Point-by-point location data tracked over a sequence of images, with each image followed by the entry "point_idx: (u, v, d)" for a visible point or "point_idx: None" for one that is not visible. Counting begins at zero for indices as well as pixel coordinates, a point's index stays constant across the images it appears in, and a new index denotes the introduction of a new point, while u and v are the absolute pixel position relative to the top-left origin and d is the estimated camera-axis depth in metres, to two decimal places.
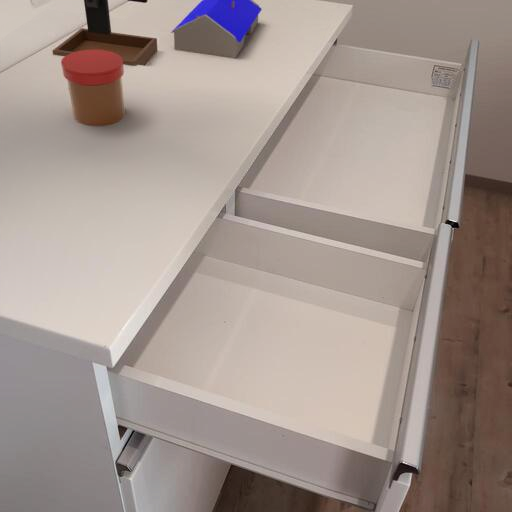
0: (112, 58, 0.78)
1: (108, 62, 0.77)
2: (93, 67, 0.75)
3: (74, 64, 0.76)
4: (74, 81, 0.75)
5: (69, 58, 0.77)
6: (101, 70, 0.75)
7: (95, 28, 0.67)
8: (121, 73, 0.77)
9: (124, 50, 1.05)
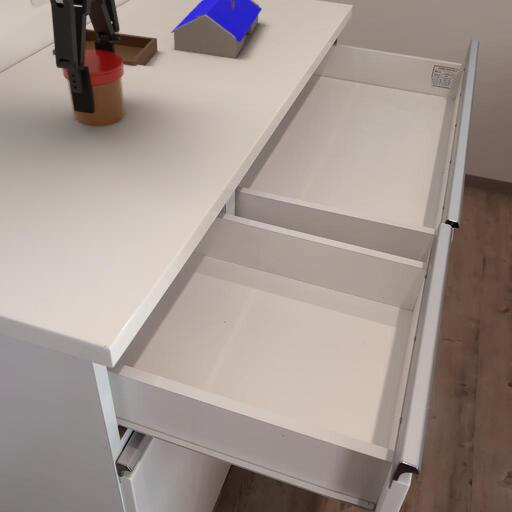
0: (112, 58, 0.78)
1: (108, 62, 0.77)
2: (93, 67, 0.75)
3: None
4: None
5: None
6: (101, 70, 0.75)
7: None
8: (121, 73, 0.77)
9: (124, 50, 1.05)
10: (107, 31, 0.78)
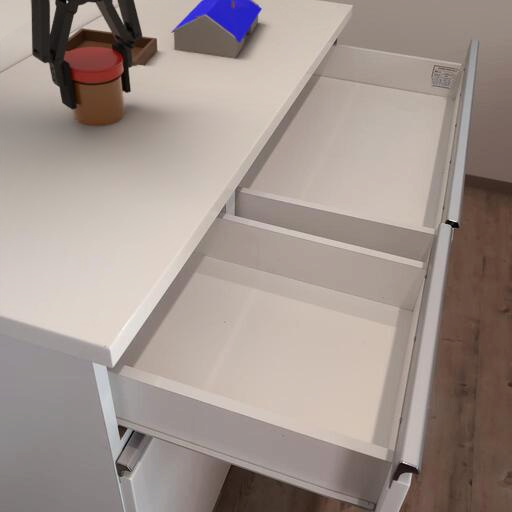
0: (72, 55, 0.77)
1: (82, 53, 0.78)
2: (101, 52, 0.78)
3: (111, 58, 0.77)
4: None
5: (106, 65, 0.75)
6: (99, 48, 0.80)
7: (65, 101, 0.78)
8: None
9: None
10: None
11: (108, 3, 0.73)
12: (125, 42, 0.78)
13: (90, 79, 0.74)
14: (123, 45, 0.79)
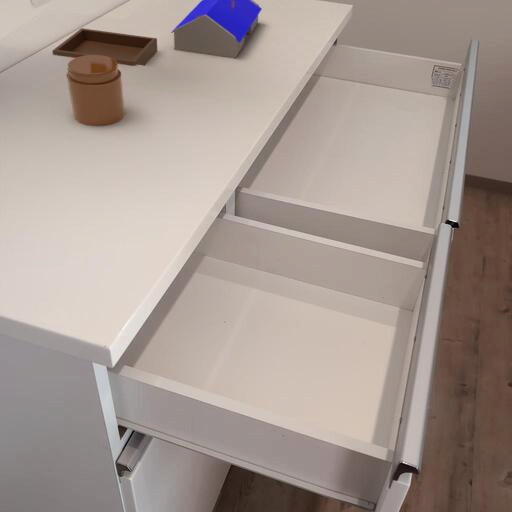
0: None
1: None
2: None
3: None
4: None
5: None
6: None
7: None
8: None
9: (124, 50, 1.05)
10: None
11: None
12: None
13: None
14: None
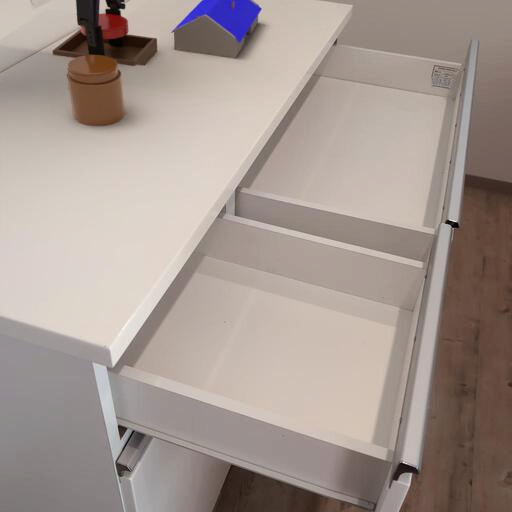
0: None
1: None
2: (103, 16, 1.00)
3: (117, 19, 1.00)
4: None
5: (121, 23, 0.99)
6: None
7: None
8: None
9: (124, 50, 1.05)
10: None
11: None
12: (119, 5, 1.01)
13: (117, 35, 0.97)
14: (116, 8, 1.02)
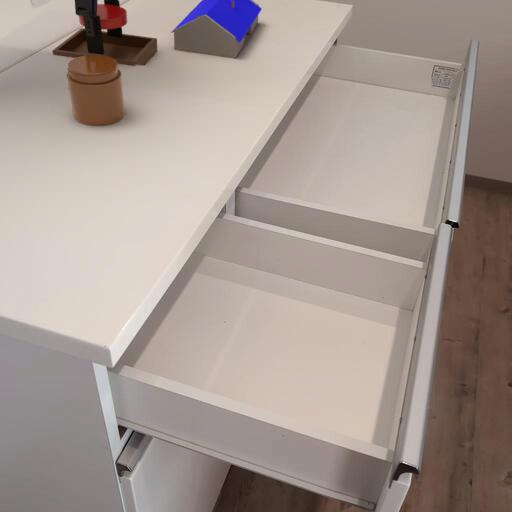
0: None
1: None
2: (101, 7, 0.99)
3: (116, 9, 0.99)
4: None
5: (120, 13, 0.98)
6: None
7: (93, 50, 0.97)
8: None
9: (124, 50, 1.05)
10: None
11: None
12: None
13: (115, 25, 0.96)
14: None
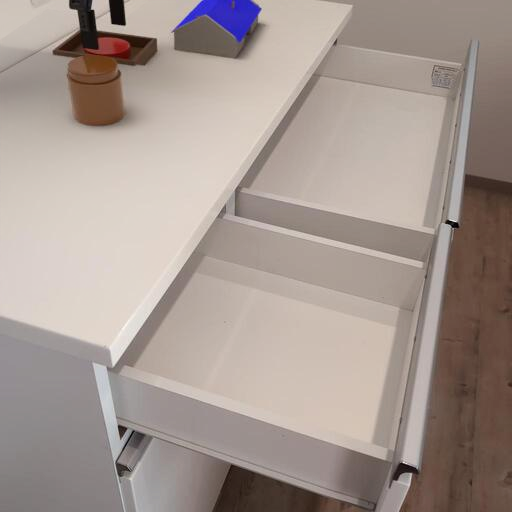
0: None
1: None
2: (105, 40, 1.03)
3: (119, 43, 1.03)
4: None
5: (124, 47, 1.02)
6: (100, 39, 1.04)
7: (87, 45, 0.95)
8: None
9: None
10: None
11: None
12: None
13: None
14: None
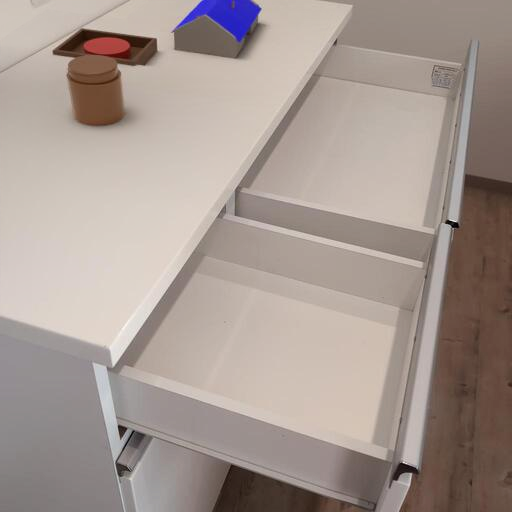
0: (91, 47, 1.01)
1: (94, 44, 1.02)
2: (105, 40, 1.03)
3: (119, 43, 1.03)
4: None
5: (124, 47, 1.02)
6: (100, 39, 1.04)
7: None
8: None
9: None
10: None
11: None
12: None
13: None
14: None
